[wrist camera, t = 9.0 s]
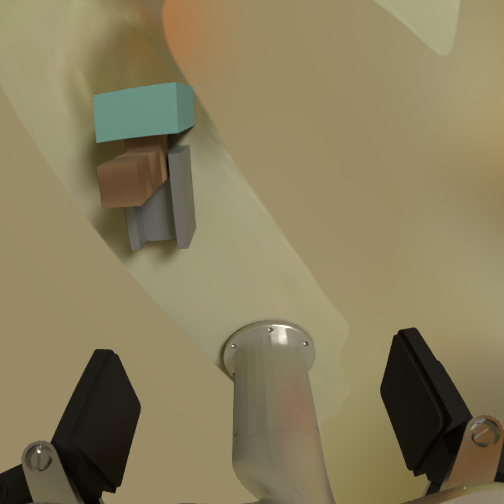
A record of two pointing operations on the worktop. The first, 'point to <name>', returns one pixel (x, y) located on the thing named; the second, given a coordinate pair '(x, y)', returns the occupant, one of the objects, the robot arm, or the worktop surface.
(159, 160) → the rod
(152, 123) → the teal rectangular block
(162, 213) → the guide channel
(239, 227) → the worktop surface
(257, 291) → the worktop surface
